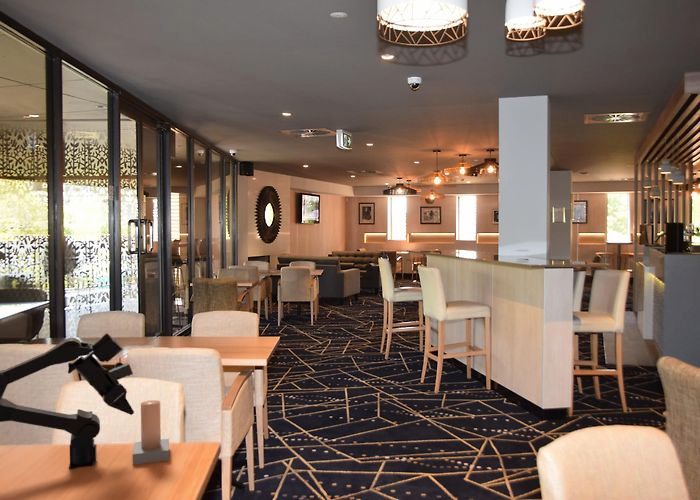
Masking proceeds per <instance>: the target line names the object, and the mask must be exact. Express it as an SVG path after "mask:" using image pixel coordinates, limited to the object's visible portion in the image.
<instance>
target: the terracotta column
mask: <svg viewBox="0 0 700 500" xmlns="http://www.w3.org/2000/svg"><path fill="white" fill-rule="evenodd" d="M161 423H162V422H161V401H160V400H156V399H155V400H153V399H152V400H146V401H142V402H140V439H141V441H140V442H141V448H142V449H145V450H151V449H156V448H158V447H160V446H161V440H162V436H161V435H162V434H161V431H162V429H161Z"/></svg>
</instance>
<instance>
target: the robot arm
mask: <svg viewBox="0 0 700 500" xmlns="http://www.w3.org/2000/svg"><path fill="white" fill-rule="evenodd" d="M123 350H124V348H123V347H122V345H121V344H120V343H119V342H118V341H117V339H116V338H113V337H112V336H111V335H110V334H109V333H108V332H106V333H104V335H102V336H101V338H100V339H98V340H97V341H95V342H94V343H89V342H82V341H80V340H79V339H78V338H76V337H68V338H66V339H63V340H62V341H61V342H58V343H57V344H56V345H54V346H53V347H52V348H50V349H49V350H47V351H46V352H44V353H41V354H39V355H36V356H34V357H32V358H29V359H27V360H25V361H22V362H20V363H18V364H15V365H13V366H10V367H9V368H6V369H3V370H0V423H3V422H4V423H5V422H15V423H20V424H21V423H22V424H27V425H31V426H38V427H43V428H49V429H55V430H61V431H65V432H67V433H69V434H70V441H69V442H70V443H69V464H68V469H74V468H85V467H92V466H94V465H95V462H96V461H97V458H98V457H97V455H98V453H97V450H98V449H97V443H96V444H95V438H96V437H97V436H98V435H99V434H100V431H101V420H100V417H98V415H97V414H95V413H93V411H86V410H83V409H77V413H73V414H71V413H70V414H67V413H62V412H56V411H52V410H51V411H50V410H45V409H42V408H41V409H40V408H35V407H29V406H24V405H18V404H15V403H14V402H12V401H10V400H8V399H7V398H4V397H3V395H4V394H5V392H6V389H7V387H8V385H10V384H13V383H14V382H16V381H19V380H21V379H23V378H25V377H29V376H31V375H32V374H33V375H34V373H37V372H39V371H42V370H44V369H46V368H48V367H52V366H55V365H61V364H65V363H67V365H68V371H67V373H68V374H71V373H73V372H74V371H77V372H78V373H79V374H80V376H81V377H82V378H83V379H84V380H85V381H86V382H87V383H88V384H89V385H90V386H91V387H92V388H93V389H94V390H95V391H96V392H97V393H98V395H99V396H100V397H101V399H102V400H103V402H104V403H105V404H106V405H107V406H109V407H111V408H113V409H115V410H118V411H121V412H123V413H126V414H128V415H130V416H132V415H134V413H135V411H134V410H133V407H132V406H131V404H130V403H129V401H128V399H127V393H128V392H127V390H128V389H126V388H125V387H124V386H123V385H122V384H121V383H120V382H119V380H121V379H123V378H126V377H129V376H132V375H133V374H134V373H133V370H132V367H131V365H130V363H128V362H125V363H122V361H118V362H116V363H115V364H114V367H113V368H112V369H110V370H109V369H107V368H105V367H104V366H103V365H102V364H101V363H105V362H106V363H109V362H110V361H111V360H112V359H113V358H115V357H116V356H117V355H118V354H119V353H121V352H122V351H123ZM84 356H85V357H84ZM94 356H95V357H94ZM100 362H101V363H100Z"/></svg>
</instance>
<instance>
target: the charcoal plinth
mask: <svg viewBox="0 0 700 500" xmlns="http://www.w3.org/2000/svg"><path fill="white" fill-rule="evenodd" d="M167 461H170V440H169V438H163V439H162V438H161V446H160V447H158V448H156V449H151V450H145V449H142V448H141V441H134V442H133V449H132V465H140V464H149V463H158V462H159V463H160V462H167Z"/></svg>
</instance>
